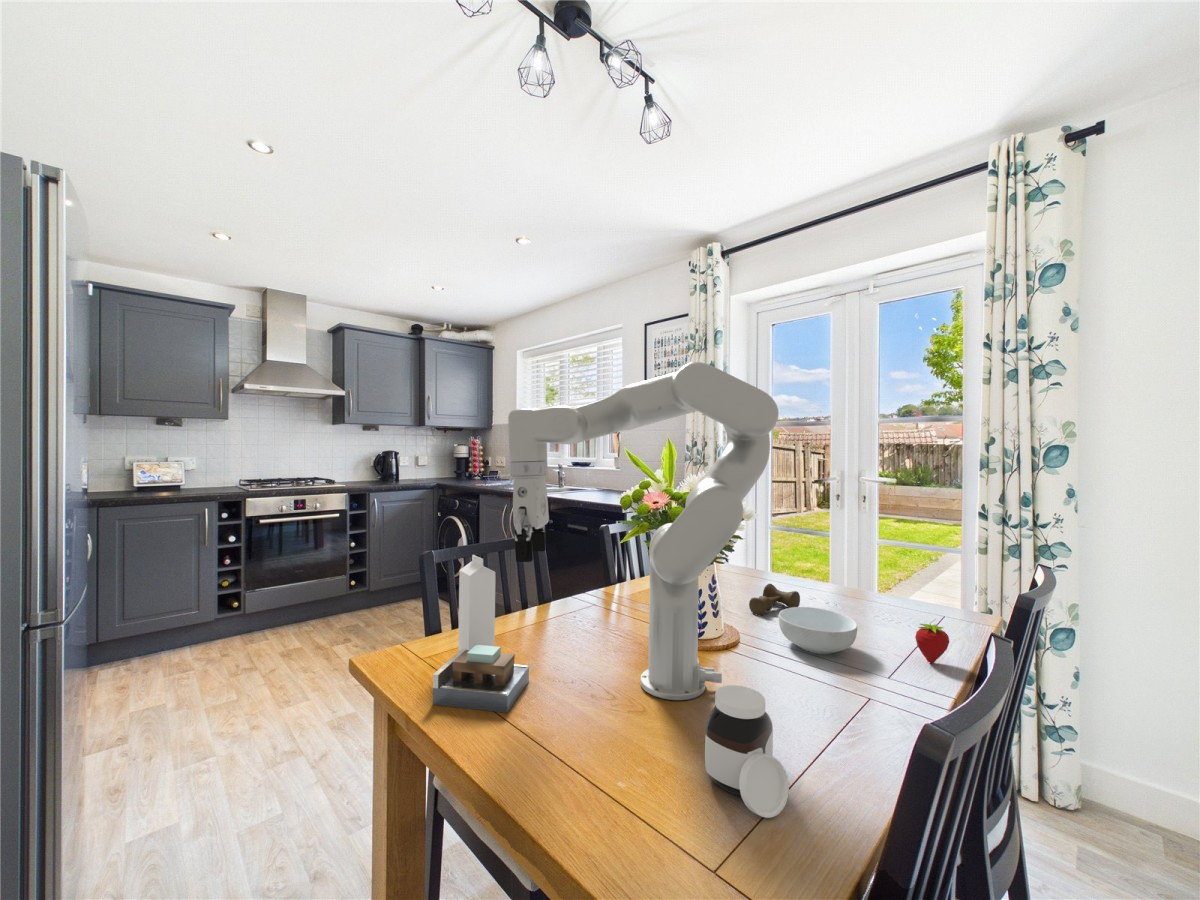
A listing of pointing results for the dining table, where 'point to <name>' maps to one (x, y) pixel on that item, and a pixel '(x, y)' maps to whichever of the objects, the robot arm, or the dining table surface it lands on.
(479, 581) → the milk
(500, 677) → the pallet
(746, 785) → the spread jar
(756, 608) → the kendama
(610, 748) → the dining table surface
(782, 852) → the dining table surface
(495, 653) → the cargo
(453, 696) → the tray
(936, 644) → the strawberry
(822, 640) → the cereal bowl
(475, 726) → the dining table surface
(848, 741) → the dining table surface
